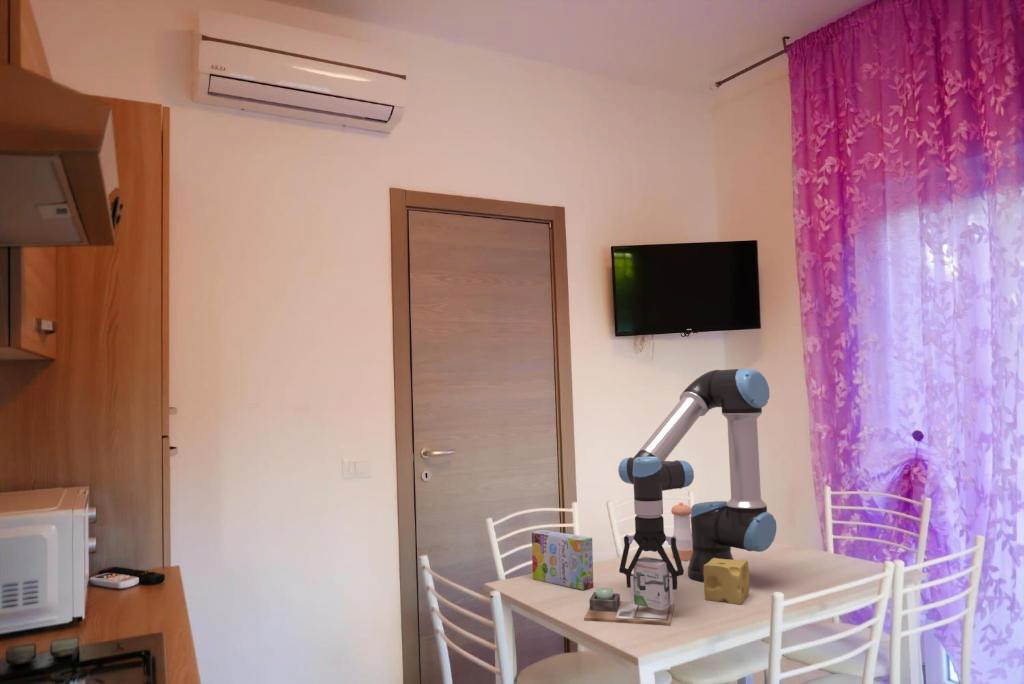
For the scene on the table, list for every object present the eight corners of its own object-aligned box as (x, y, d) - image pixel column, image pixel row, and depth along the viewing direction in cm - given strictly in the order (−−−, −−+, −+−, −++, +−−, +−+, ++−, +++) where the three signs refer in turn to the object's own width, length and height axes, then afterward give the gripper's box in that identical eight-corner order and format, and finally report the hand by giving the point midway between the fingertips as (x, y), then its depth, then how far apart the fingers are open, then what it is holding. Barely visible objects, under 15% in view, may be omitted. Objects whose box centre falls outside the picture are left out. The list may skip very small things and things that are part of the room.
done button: (614, 599, 198) (613, 588, 198) (611, 603, 194) (611, 592, 194) (598, 598, 199) (597, 587, 199) (595, 603, 195) (595, 591, 195)
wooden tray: (673, 606, 197) (673, 593, 197) (670, 625, 182) (669, 611, 182) (594, 602, 203) (593, 589, 203) (584, 620, 188) (583, 606, 188)
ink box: (633, 604, 192) (631, 559, 192) (642, 600, 195) (641, 556, 196) (662, 610, 186) (660, 564, 187) (671, 605, 190) (669, 560, 191)
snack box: (595, 587, 218) (593, 536, 219) (583, 591, 214) (581, 539, 215) (543, 575, 233) (541, 528, 234) (531, 579, 229) (530, 531, 230)
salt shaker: (672, 555, 255) (669, 501, 256) (693, 555, 254) (690, 501, 255) (673, 560, 248) (671, 504, 249) (695, 560, 247) (692, 504, 248)
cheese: (741, 605, 196) (739, 568, 197) (702, 600, 202) (700, 564, 203) (750, 595, 205) (749, 560, 206) (713, 590, 211) (711, 556, 212)
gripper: (691, 513, 193) (695, 598, 191) (609, 512, 199) (612, 594, 198) (690, 518, 186) (694, 607, 184) (605, 517, 192) (608, 602, 190)
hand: (652, 600), depth 191 cm, fingers closed on ink box, 9 cm apart
